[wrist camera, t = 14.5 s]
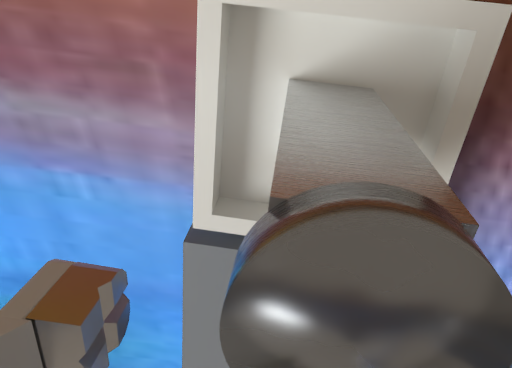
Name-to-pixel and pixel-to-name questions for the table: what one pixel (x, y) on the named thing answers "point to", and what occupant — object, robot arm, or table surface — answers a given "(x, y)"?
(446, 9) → the tray
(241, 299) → the pin
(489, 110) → the table surface
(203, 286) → the holder block
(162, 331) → the table surface
